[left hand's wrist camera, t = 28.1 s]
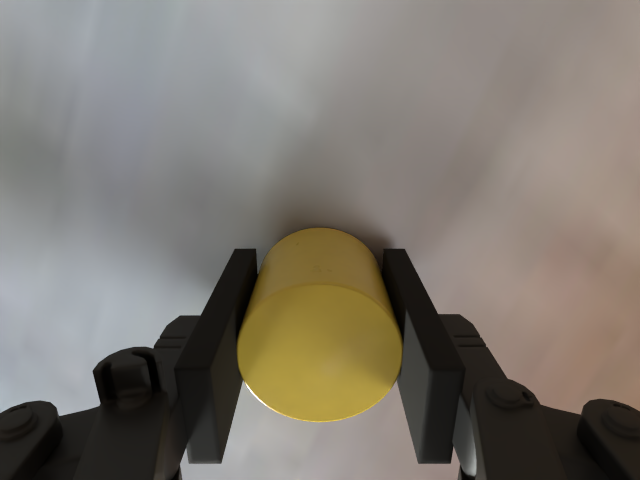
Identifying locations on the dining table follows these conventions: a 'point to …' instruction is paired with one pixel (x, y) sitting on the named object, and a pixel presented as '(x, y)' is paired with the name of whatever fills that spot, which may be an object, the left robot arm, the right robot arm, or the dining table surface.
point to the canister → (319, 329)
